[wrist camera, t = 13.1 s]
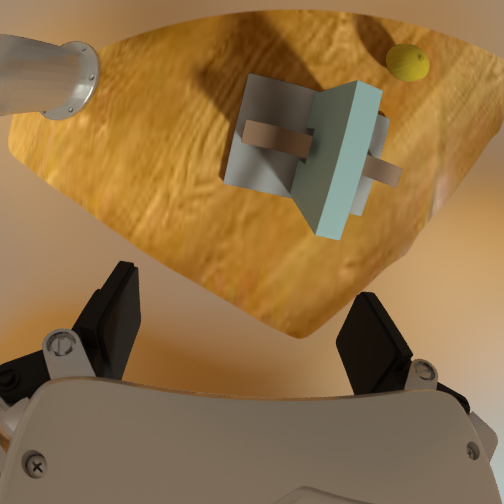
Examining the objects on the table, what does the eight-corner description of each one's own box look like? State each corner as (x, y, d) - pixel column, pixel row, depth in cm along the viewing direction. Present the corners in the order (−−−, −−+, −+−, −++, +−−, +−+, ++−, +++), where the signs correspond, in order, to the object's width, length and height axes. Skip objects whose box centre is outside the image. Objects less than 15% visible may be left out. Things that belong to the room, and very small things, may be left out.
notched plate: (315, 93, 30) (357, 80, 18) (332, 99, 31) (382, 90, 18) (289, 194, 36) (315, 235, 24) (306, 198, 37) (339, 240, 24)
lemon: (386, 87, 30) (417, 84, 23) (370, 53, 28) (397, 42, 21) (413, 78, 29) (445, 75, 22) (398, 46, 27) (428, 36, 20)
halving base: (223, 182, 36) (218, 200, 28) (248, 74, 30) (250, 59, 22) (358, 214, 39) (385, 238, 31) (387, 119, 33) (422, 122, 24)
